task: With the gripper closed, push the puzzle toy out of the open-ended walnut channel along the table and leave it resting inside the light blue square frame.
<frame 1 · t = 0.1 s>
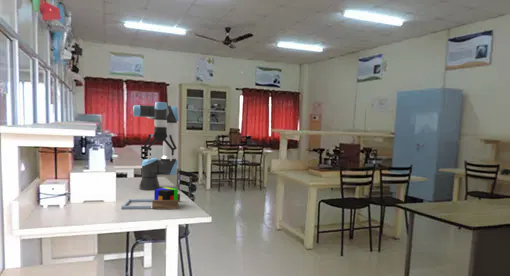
hand: (159, 160, 204), 28 cm above the table, fingers open, 13 cm apart
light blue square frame: (140, 204, 202), on the table
channel: (166, 204, 204), on the table
puzzle toy: (165, 205, 204), on the table
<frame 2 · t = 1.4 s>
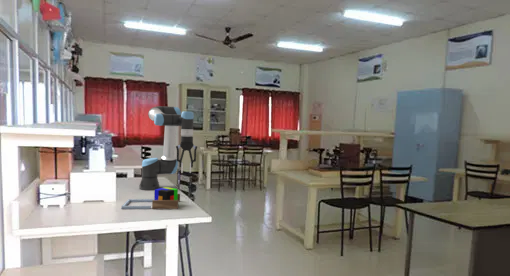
hand: (186, 172, 205), 21 cm above the table, fingers open, 4 cm apart
nothing on the table moved.
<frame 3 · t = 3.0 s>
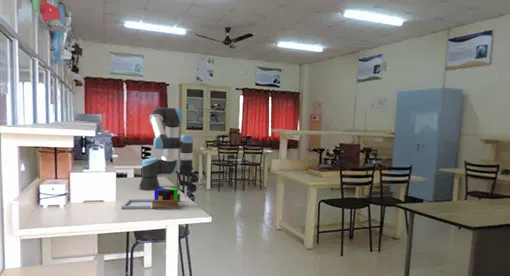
hand: (185, 196, 206), 5 cm above the table, fingers closed
nothing on the table moved.
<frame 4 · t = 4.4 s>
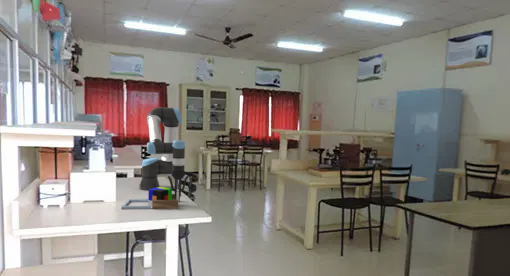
hand: (177, 201, 205), 2 cm above the table, fingers closed
puzzle toy: (160, 205, 204), on the table, touching hand
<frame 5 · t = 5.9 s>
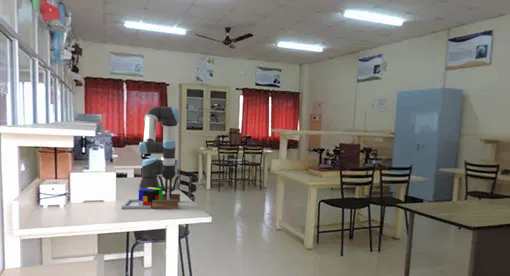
hand: (168, 201, 204), 2 cm above the table, fingers closed
puzzle toy: (150, 205, 202), on the table, touching hand
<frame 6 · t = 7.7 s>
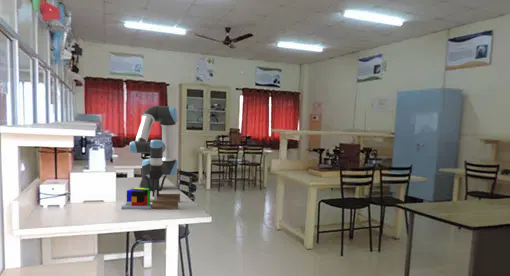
hand: (155, 201, 203), 2 cm above the table, fingers closed
puzzle toy: (138, 205, 200), on the table, touching hand
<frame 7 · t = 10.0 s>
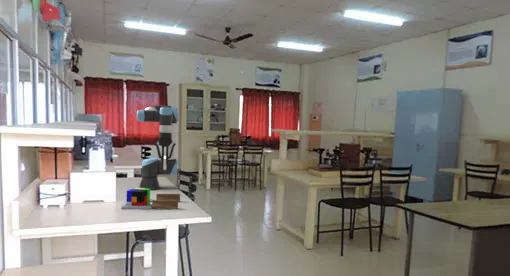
hand: (164, 169, 204), 22 cm above the table, fingers closed
puzzle toy: (138, 206, 200), on the table
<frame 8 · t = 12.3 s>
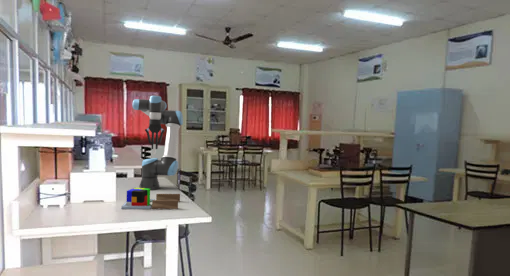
hand: (154, 153, 218), 30 cm above the table, fingers closed
nothing on the table moved.
at the end: puzzle toy inside the target area on the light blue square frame (1.7 cm from its centre), point 0.0 cm above the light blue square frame's base; puzzle toy moved 16.5 cm from its start; puzzle toy touching table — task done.
